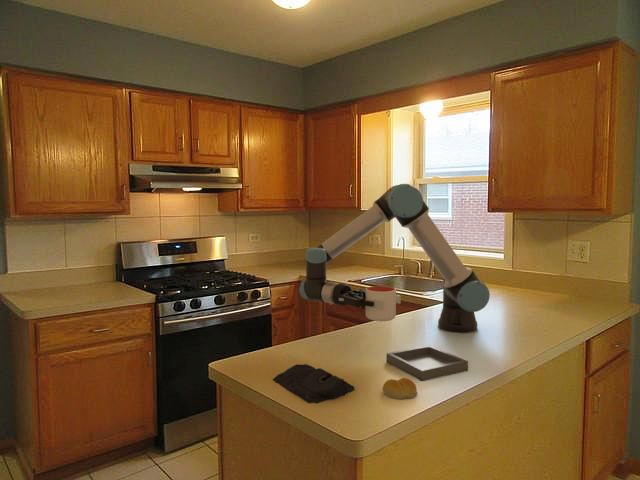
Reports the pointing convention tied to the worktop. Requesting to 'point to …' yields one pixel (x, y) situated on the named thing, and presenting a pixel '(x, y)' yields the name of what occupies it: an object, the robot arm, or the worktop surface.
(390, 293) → the cup
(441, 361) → the tray
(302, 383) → the dark slate chunk
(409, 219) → the robot arm
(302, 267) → the worktop surface
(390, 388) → the bread roll
